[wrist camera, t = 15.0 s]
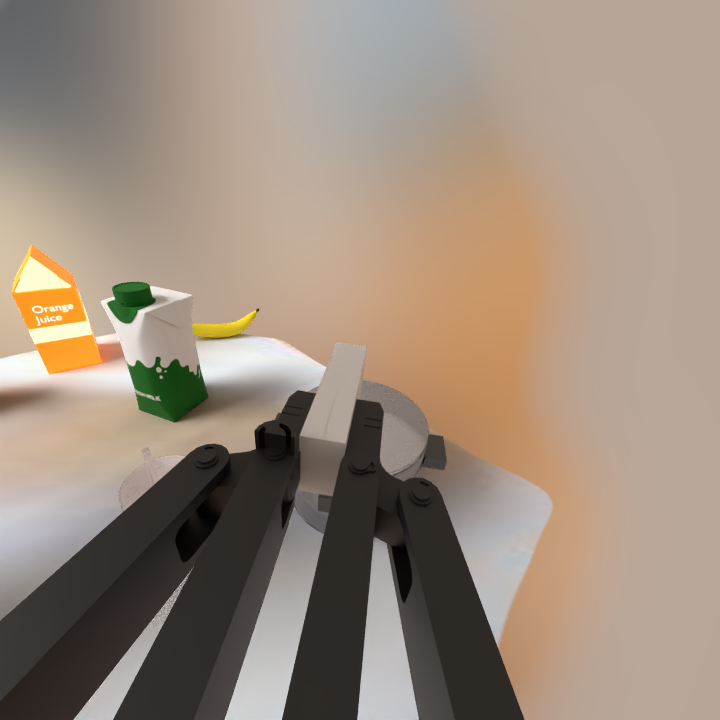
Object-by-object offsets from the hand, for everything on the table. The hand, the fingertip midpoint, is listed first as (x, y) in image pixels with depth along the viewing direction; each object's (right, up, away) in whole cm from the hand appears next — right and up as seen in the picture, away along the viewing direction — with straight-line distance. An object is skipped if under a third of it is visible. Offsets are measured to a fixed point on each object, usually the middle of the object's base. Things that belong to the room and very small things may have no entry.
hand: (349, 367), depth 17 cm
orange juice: (-53, +1, +45) cm, 70 cm away
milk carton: (-29, -7, +37) cm, 47 cm away
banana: (-32, +5, +57) cm, 65 cm away
